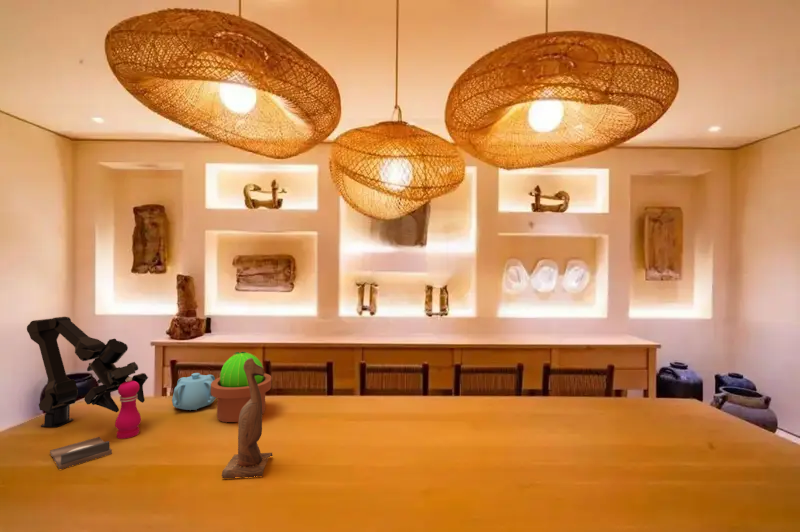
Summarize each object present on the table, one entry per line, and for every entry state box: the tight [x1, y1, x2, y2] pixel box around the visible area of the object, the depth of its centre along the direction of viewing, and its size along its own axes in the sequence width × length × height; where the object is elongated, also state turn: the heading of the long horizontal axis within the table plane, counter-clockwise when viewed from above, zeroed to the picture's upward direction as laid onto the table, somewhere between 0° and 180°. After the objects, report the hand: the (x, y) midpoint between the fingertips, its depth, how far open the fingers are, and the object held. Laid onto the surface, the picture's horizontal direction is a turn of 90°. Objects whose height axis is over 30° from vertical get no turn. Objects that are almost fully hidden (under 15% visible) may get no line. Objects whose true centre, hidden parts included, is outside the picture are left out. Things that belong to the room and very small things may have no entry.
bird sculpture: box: [221, 358, 274, 479], centre depth 107 cm, size 11×12×32 cm
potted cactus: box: [211, 351, 272, 423], centre depth 146 cm, size 22×22×25 cm
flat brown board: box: [49, 436, 113, 470], centre depth 114 cm, size 14×12×4 cm
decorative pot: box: [171, 372, 217, 411], centre depth 154 cm, size 16×16×14 cm
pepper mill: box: [114, 376, 142, 440], centre depth 127 cm, size 7×7×20 cm
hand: (131, 406), depth 127 cm, fingers open, 9 cm apart
